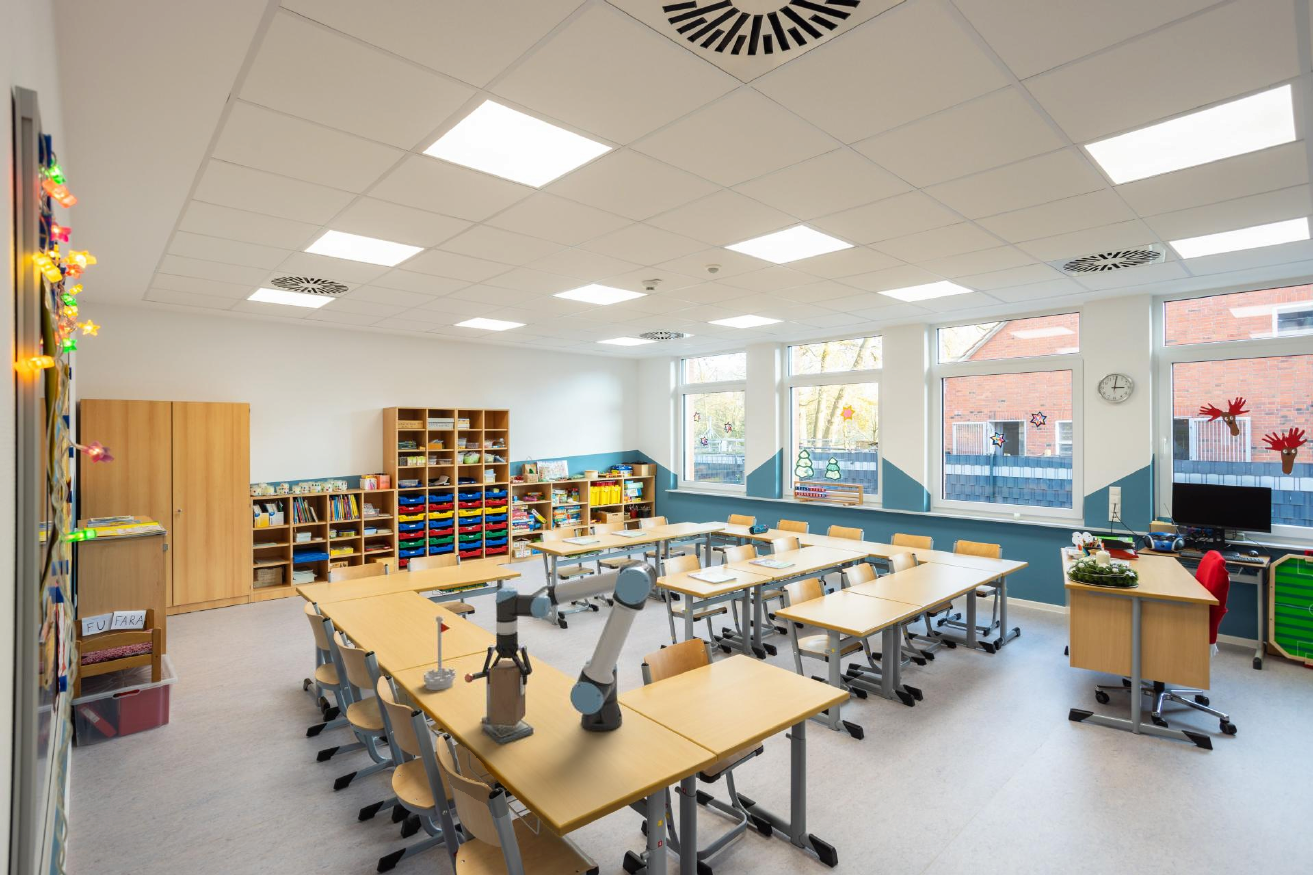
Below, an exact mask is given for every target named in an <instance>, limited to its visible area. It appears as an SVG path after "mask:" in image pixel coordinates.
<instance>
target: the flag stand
mask: <svg viewBox="0 0 1313 875" xmlns="http://www.w3.org/2000/svg"><path fill="white" fill-rule="evenodd" d="M443 620H444V617H443V616H442V615H437V616H436V617H435V621H436V622H437V670H436V671H435V669H434V668H433V669H430V670H428V672H424V674H423V682H424V683H425V685H426V686H425V687H426V689H428V690H430V691H441V690H445V689H446V690H447V689H449V688H451V687H452V686H453V685H454V680H455V678H456V675H457V674H456V670H455V668H452V667H449V668H448V669H446V667H443V666H442V663H443V662H442V659H443V658H442V655H443V654H442V652H443V651H442V633H444V632H445V631H448V630H449V629H451V627H449V626H447V625H446V624H444V623H443Z"/></svg>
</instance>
